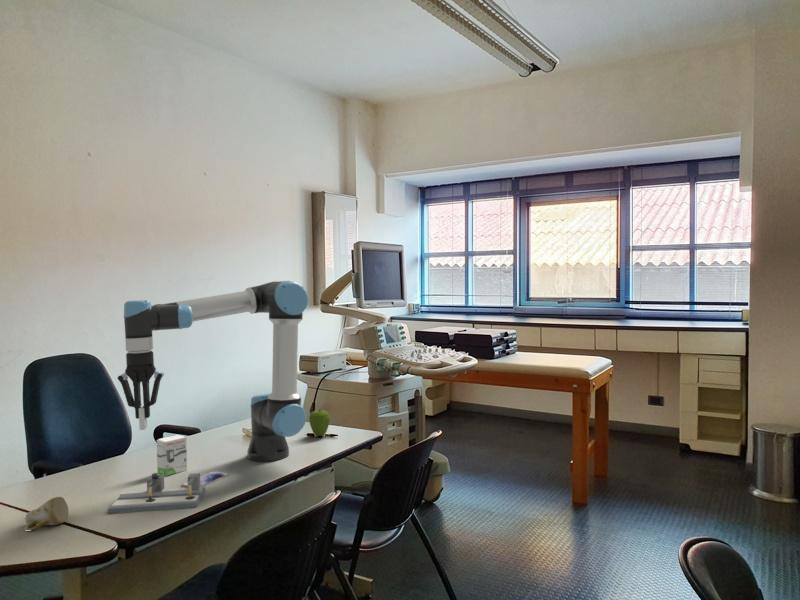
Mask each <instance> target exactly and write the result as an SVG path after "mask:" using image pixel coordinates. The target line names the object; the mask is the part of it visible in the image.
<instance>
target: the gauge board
mask: <svg viewBox="0 0 800 600" xmlns="http://www.w3.org/2000/svg"><path fill="white" fill-rule="evenodd" d="M200 476H201V473H189V475H188V476H187V482H188V488H186V487H181V488H169V489H168V488H166V489H165V488H164V489H163V491H162V492H154V493H152V499H149V493H147V490H135V491H121V492H120V493H119V497H117V499H116V500H115V501H114V502H113V503H112V504H110V506H109V507H108V508H107V513H108V514H115V513H117V514H118V513H128V512H130V513H131V512H144V511H146V512H147V511H159V510H160V511H161V510H174V509H176V510H177V509H188V508H189V509H190V508H197V507H198V505H199V504H200V502H201V500H202V499H203V497H204V495H205V494H206V492H207V490H206V486H203V487H200V486H201V485H200Z"/></svg>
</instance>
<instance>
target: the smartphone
mask: <svg viewBox="0 0 800 600" xmlns="http://www.w3.org/2000/svg"><path fill="white" fill-rule="evenodd" d="M229 475H230V474H229V473H227V472H222V471H219V470H218V471H217V470H213V471H210V472H207V473H204V474H203V475H200V485H201V486H200V487H206V486H207V485H210V484H212V483H214V482H217V481H219V480H221V479H224V478H226V477H228V476H229ZM180 487H181V488H188V481H186V482H183V483H181V485H180Z"/></svg>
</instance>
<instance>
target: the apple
mask: <svg viewBox="0 0 800 600" xmlns="http://www.w3.org/2000/svg"><path fill="white" fill-rule="evenodd" d="M309 414H310V415H309V418H308V419H309V420H308V421H309V426H310V428H311V431H312V433H313V434H314V435H315V436H316V437H318V436H322V437H324V436H325V435H326V433H327V431H328V429H329V425H330V420H331V419H330V418H331V416H330V414H329V412H328V411H327V410H324V409H316V410H313V411H312V412H311V413H309ZM323 435H324V436H323Z"/></svg>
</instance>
